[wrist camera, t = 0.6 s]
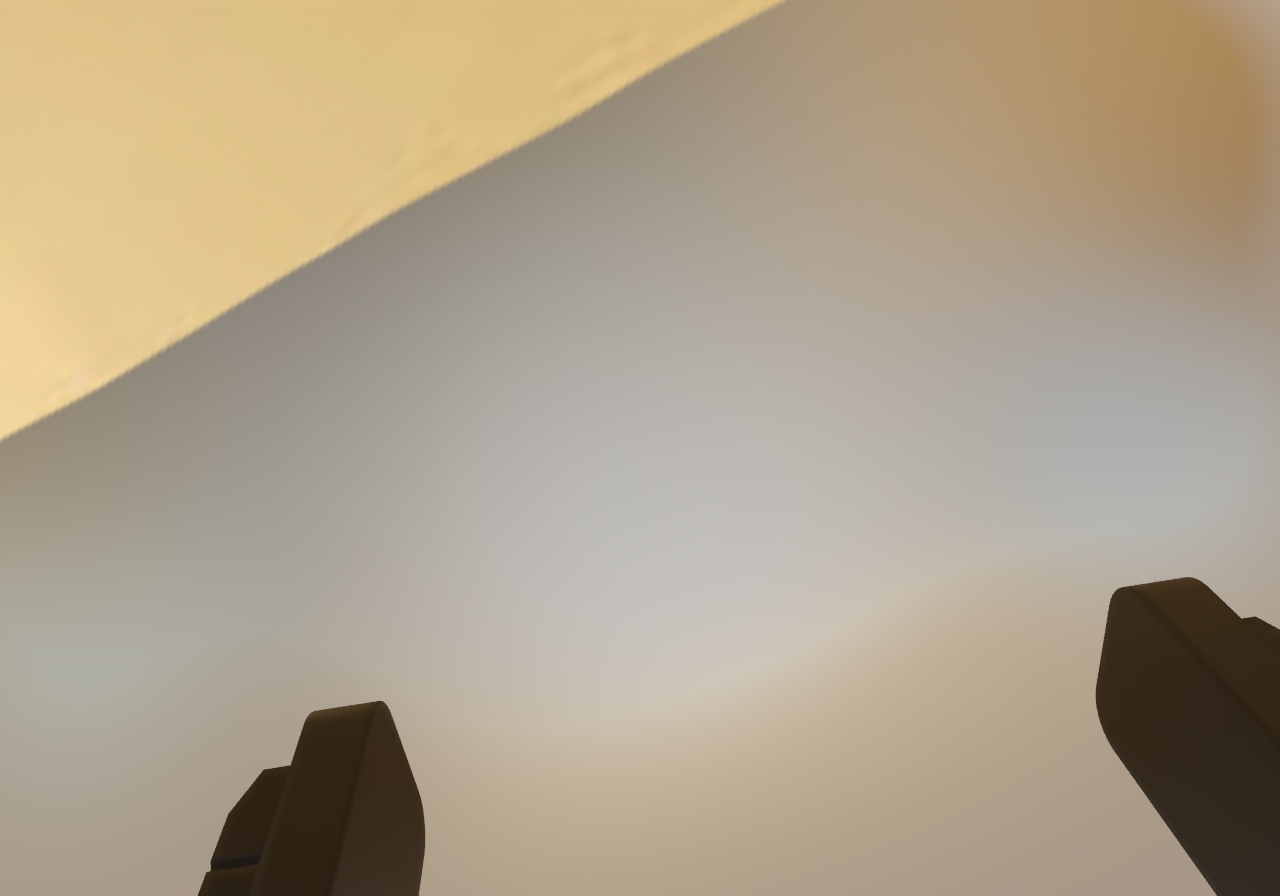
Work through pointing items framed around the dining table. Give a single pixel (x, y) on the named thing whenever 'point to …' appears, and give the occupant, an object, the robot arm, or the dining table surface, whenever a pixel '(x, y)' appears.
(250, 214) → the dining table surface
